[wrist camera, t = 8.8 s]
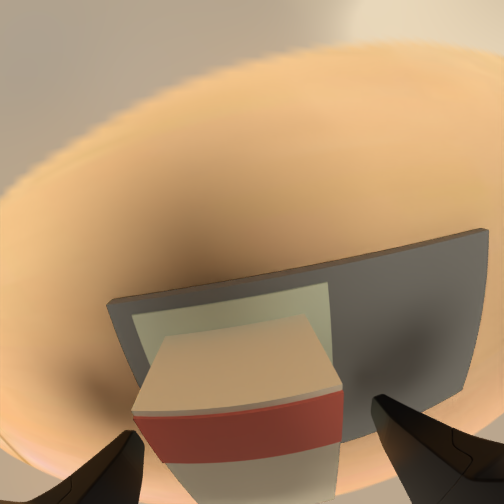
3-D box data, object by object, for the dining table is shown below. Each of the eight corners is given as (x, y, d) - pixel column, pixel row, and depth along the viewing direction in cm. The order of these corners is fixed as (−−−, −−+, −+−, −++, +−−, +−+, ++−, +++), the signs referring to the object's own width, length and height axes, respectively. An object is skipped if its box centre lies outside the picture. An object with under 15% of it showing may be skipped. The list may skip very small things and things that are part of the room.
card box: (314, 436, 11) (334, 501, 7) (213, 450, 11) (209, 517, 7) (304, 313, 9) (344, 386, 5) (165, 336, 9) (129, 413, 5)
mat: (480, 228, 10) (490, 229, 9) (457, 385, 12) (462, 390, 11) (112, 299, 9) (104, 305, 9) (185, 457, 12) (184, 466, 11)
